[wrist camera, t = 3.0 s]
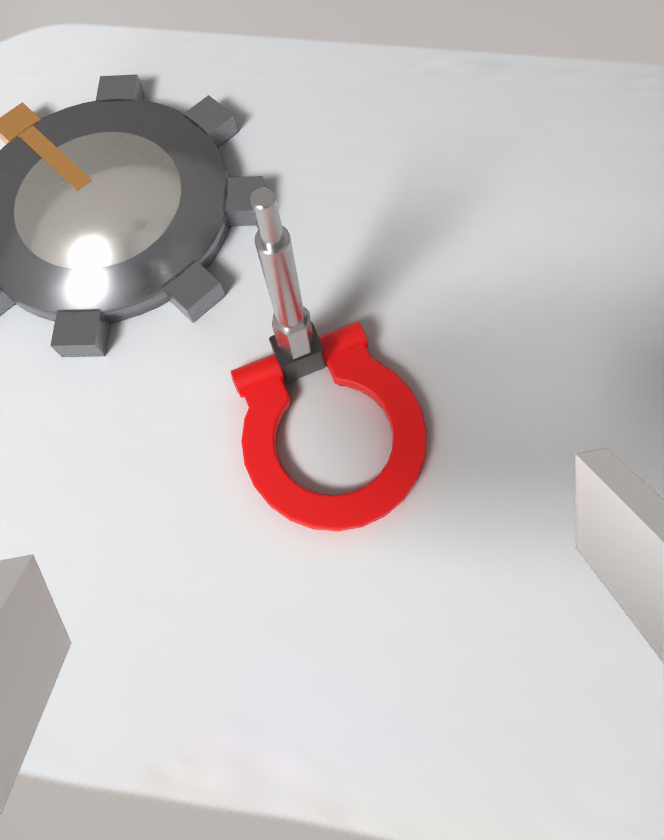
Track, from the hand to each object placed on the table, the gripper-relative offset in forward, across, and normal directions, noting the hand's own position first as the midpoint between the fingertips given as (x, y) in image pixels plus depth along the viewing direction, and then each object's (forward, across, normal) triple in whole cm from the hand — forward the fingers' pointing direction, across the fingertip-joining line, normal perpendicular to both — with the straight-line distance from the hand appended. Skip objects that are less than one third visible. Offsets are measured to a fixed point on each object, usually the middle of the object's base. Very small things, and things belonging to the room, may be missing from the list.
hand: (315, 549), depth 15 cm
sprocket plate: (+24, -9, +7) cm, 27 cm away
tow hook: (+14, +1, -4) cm, 15 cm away
